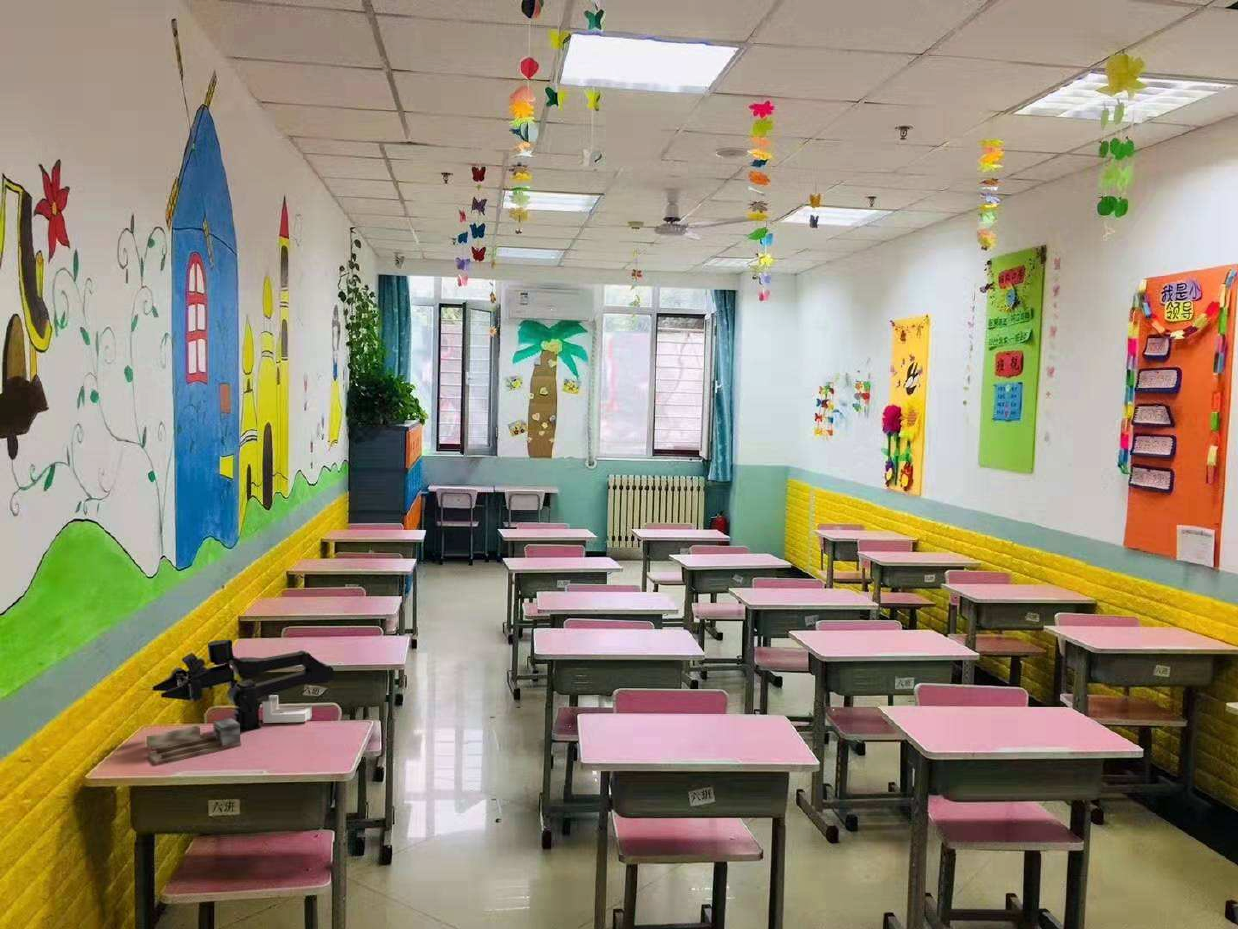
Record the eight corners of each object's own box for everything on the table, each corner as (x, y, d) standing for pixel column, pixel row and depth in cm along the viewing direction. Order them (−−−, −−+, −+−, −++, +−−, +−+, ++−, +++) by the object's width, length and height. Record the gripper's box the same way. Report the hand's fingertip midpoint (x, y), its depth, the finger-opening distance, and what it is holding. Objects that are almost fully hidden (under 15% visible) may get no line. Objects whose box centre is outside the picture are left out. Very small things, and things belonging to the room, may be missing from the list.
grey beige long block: (197, 737, 282) (197, 725, 282) (200, 739, 280) (200, 728, 280) (147, 748, 273) (146, 736, 273) (149, 750, 271) (149, 739, 271)
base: (231, 738, 280) (230, 717, 280) (241, 745, 273) (240, 724, 273) (147, 757, 265) (146, 734, 265) (156, 765, 258) (155, 742, 258)
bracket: (263, 726, 292) (262, 702, 292) (270, 718, 299) (269, 695, 299) (305, 724, 292) (304, 701, 292) (311, 717, 300) (311, 694, 299)
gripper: (199, 645, 289) (144, 659, 279) (218, 657, 274) (161, 671, 264) (204, 680, 290) (150, 695, 280) (223, 693, 276) (166, 709, 266)
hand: (156, 692), depth 273 cm, fingers open, 9 cm apart
